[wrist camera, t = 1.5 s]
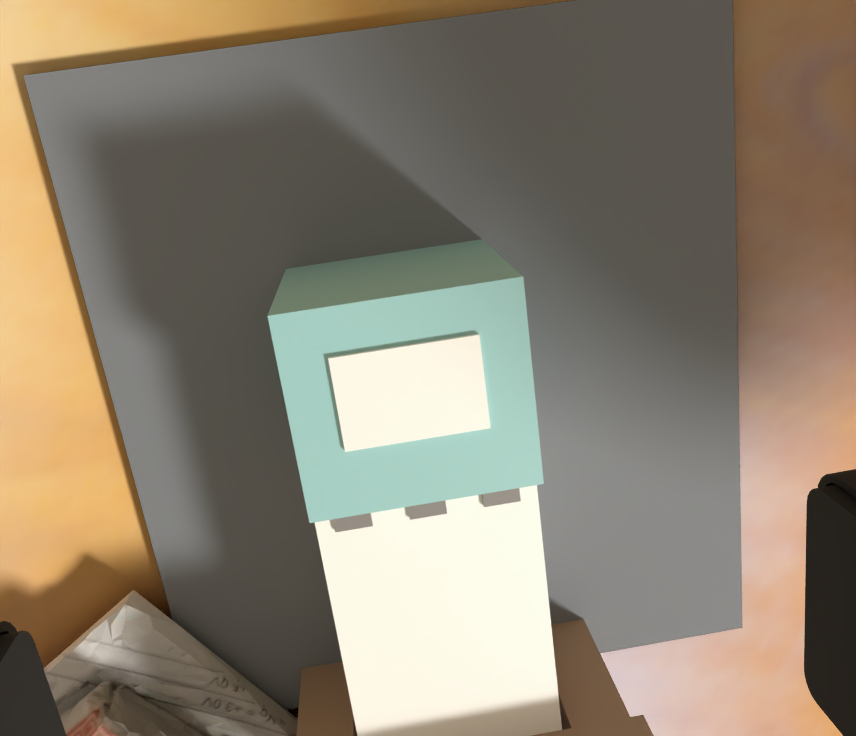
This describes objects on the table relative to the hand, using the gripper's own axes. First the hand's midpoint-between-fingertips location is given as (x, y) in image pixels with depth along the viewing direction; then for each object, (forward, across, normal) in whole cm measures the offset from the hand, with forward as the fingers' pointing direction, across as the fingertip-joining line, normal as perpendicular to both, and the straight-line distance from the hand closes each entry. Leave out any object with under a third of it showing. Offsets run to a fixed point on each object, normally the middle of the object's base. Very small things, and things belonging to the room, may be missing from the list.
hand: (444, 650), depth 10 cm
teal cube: (+16, -1, +1) cm, 16 cm away
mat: (+16, -2, +3) cm, 17 cm away
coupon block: (+16, -1, +10) cm, 19 cm away
